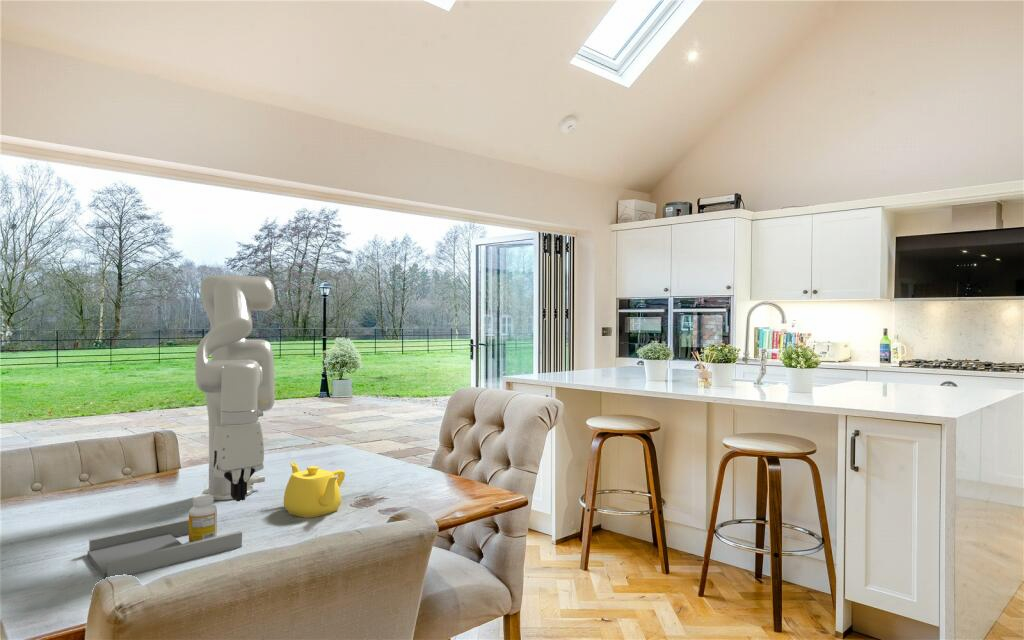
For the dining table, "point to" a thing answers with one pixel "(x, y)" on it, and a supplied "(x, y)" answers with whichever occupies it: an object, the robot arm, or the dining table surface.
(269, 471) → the dining table surface
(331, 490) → the teapot
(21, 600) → the dining table surface
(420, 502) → the dining table surface
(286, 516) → the dining table surface
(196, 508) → the supplement bottle
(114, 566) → the grey channel
